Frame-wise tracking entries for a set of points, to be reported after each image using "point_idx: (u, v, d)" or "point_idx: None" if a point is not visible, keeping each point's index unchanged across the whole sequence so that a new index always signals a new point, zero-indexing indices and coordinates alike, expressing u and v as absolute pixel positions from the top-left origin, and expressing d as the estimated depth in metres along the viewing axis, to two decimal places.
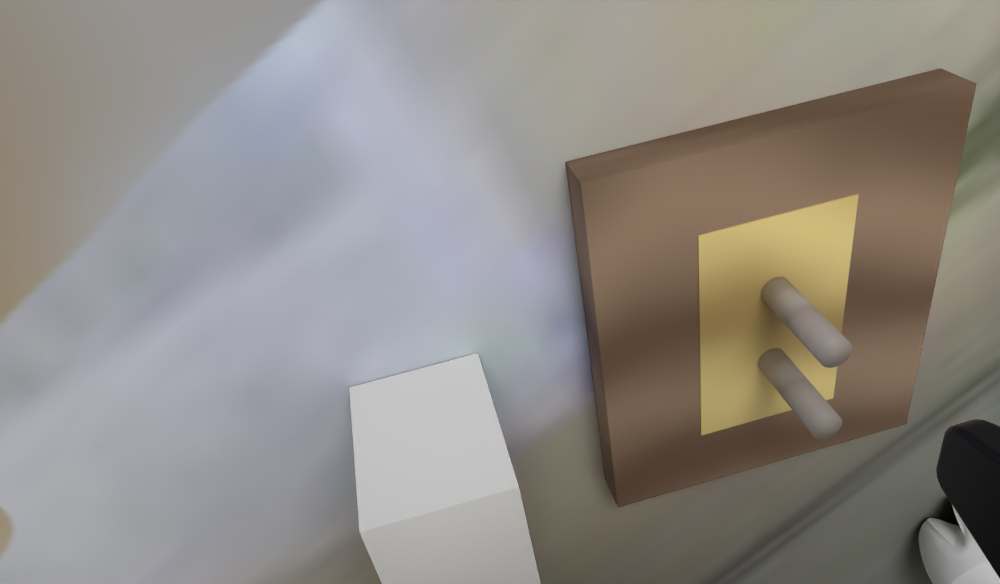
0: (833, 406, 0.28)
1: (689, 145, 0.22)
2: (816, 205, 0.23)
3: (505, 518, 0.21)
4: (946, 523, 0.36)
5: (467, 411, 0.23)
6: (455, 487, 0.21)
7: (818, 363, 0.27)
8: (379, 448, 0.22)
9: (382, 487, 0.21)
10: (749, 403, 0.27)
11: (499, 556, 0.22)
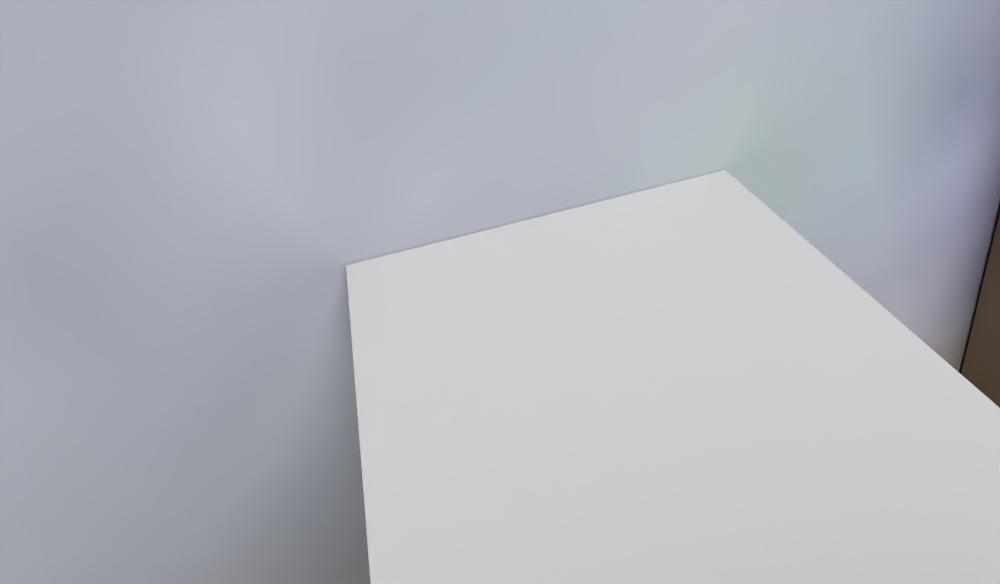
0: None
1: None
2: None
3: None
4: None
5: (773, 315, 0.06)
6: None
7: None
8: (462, 448, 0.06)
9: None
10: None
11: None
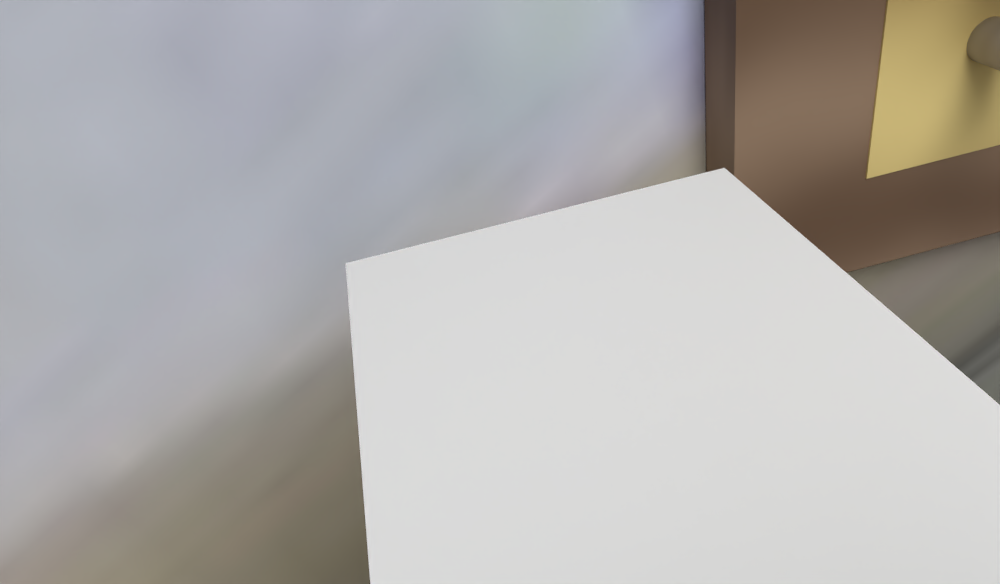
0: None
1: None
2: None
3: None
4: None
5: (772, 312, 0.06)
6: None
7: None
8: (461, 445, 0.06)
9: None
10: (942, 125, 0.18)
11: None
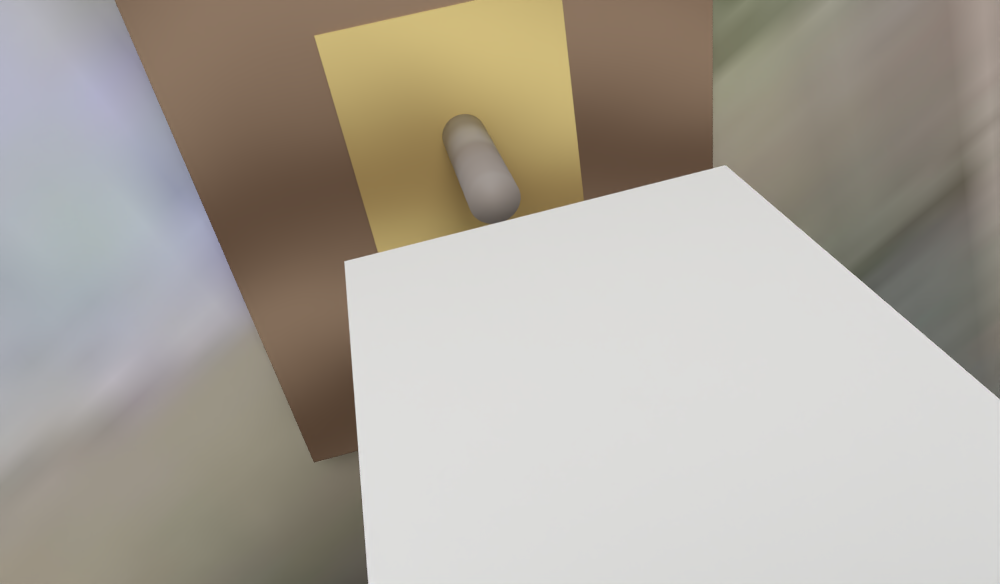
0: None
1: None
2: None
3: None
4: None
5: (774, 310, 0.06)
6: None
7: None
8: (460, 444, 0.06)
9: None
10: None
11: None
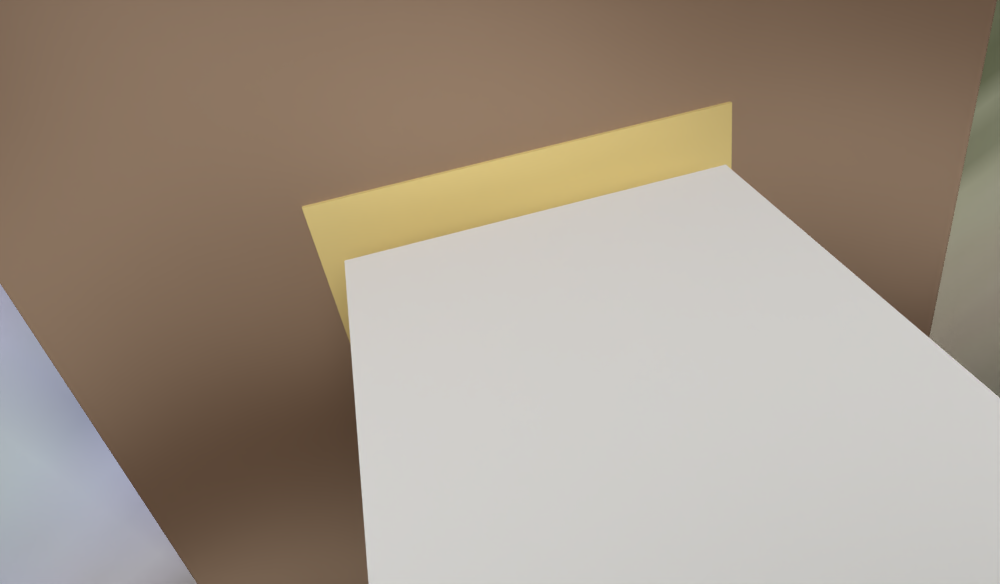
0: None
1: None
2: (621, 129, 0.09)
3: None
4: None
5: (774, 308, 0.06)
6: None
7: None
8: (460, 442, 0.06)
9: None
10: None
11: None
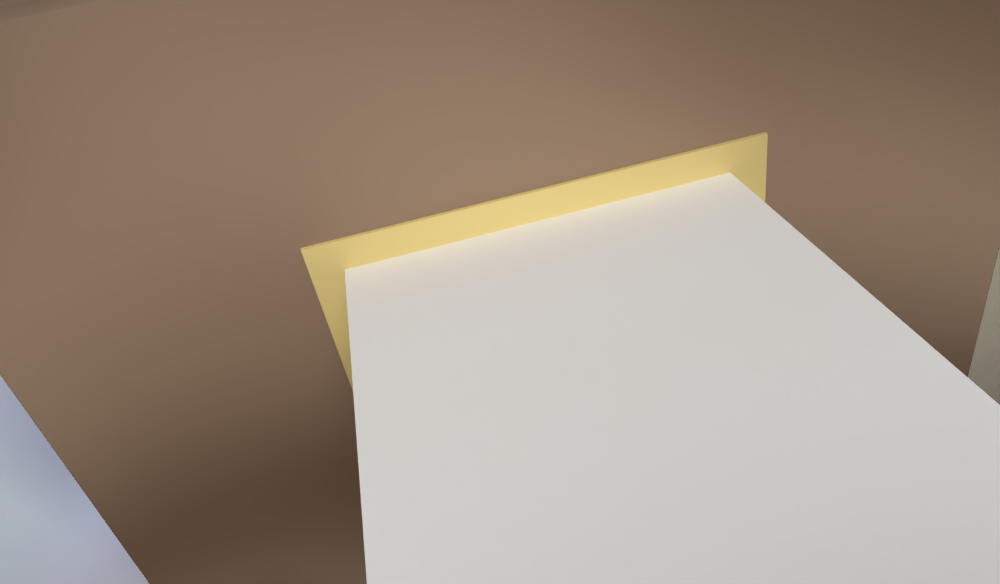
0: None
1: None
2: (648, 163, 0.08)
3: None
4: None
5: (781, 321, 0.06)
6: None
7: None
8: (462, 459, 0.06)
9: None
10: None
11: None
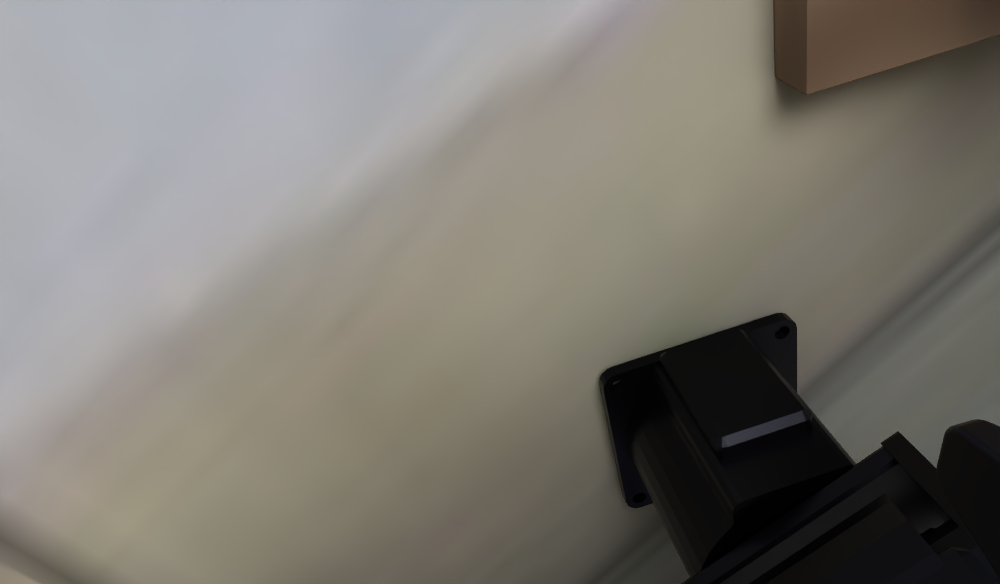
0: None
1: None
2: None
3: None
4: None
5: None
6: None
7: None
8: None
9: None
10: None
11: None
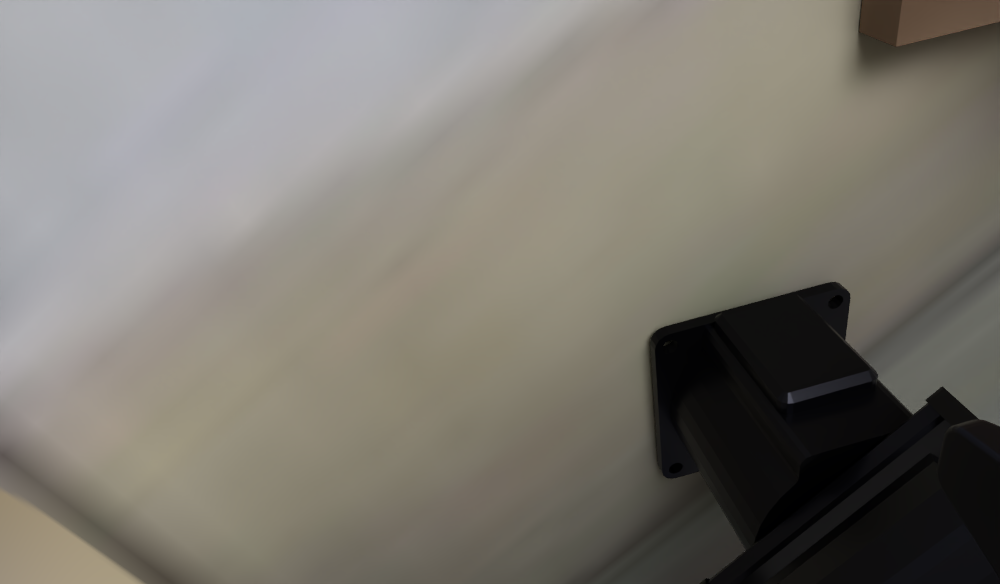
0: None
1: None
2: None
3: None
4: None
5: None
6: None
7: None
8: None
9: None
10: None
11: None
